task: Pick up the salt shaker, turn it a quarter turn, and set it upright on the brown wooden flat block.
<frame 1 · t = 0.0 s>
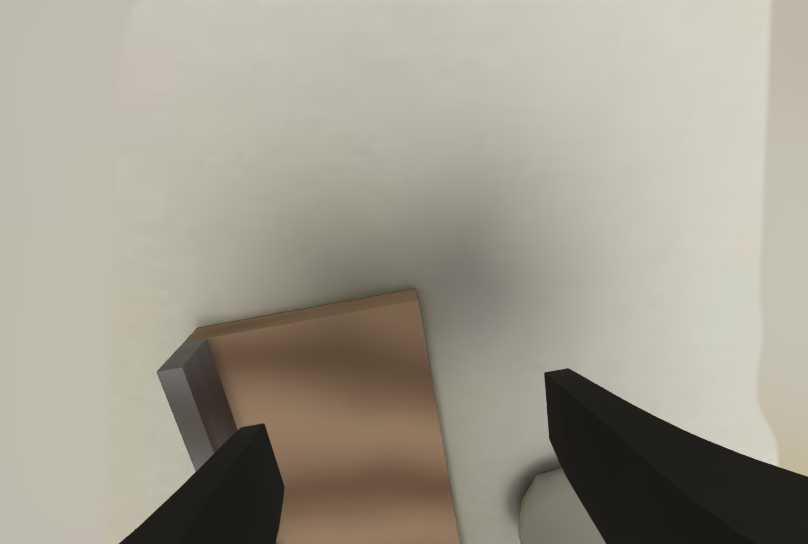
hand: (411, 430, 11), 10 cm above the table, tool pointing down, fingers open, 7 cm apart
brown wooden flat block: (349, 475, 24), on the table
salt shaker: (555, 493, 25), on the table
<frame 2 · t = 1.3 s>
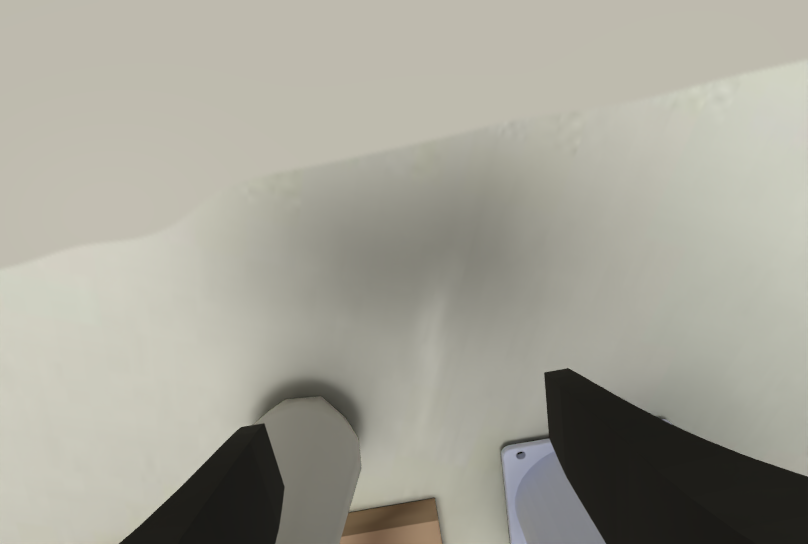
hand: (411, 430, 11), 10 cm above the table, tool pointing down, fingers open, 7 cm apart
salt shaker: (307, 426, 23), on the table
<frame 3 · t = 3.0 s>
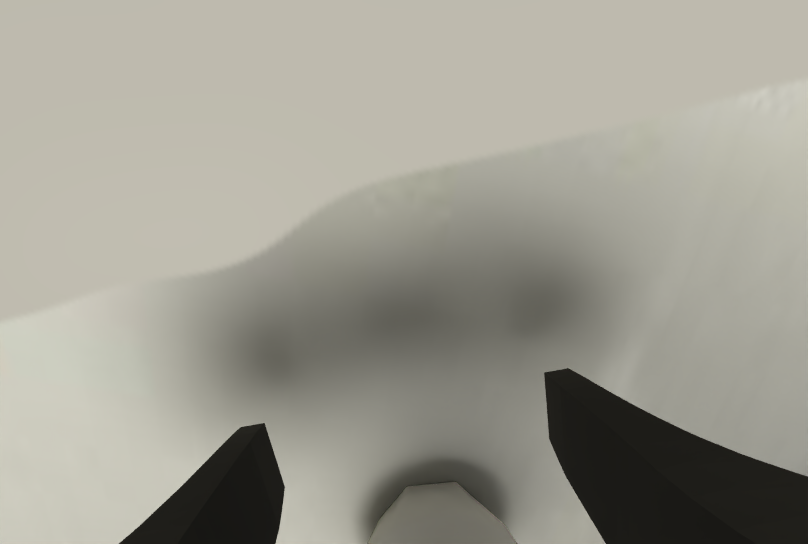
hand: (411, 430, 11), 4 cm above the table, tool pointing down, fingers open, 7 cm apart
salt shaker: (432, 519, 17), on the table
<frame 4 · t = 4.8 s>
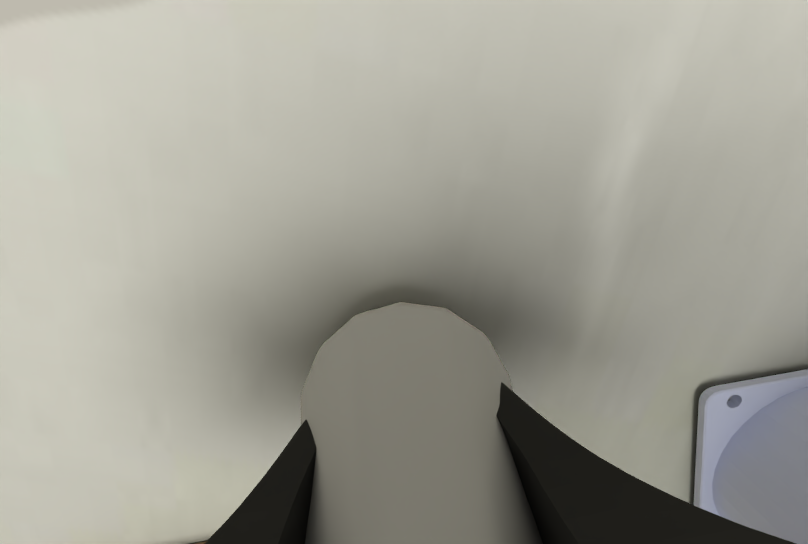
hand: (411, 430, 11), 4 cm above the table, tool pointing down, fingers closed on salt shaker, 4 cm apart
salt shaker: (402, 357, 15), on the table, touching gripper
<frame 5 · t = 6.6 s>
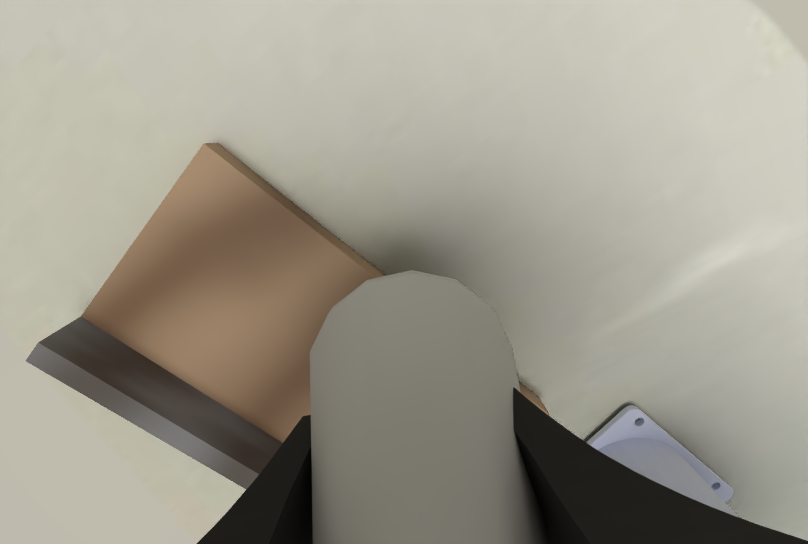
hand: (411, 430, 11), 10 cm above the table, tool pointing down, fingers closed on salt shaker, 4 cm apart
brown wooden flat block: (328, 360, 22), on the table
salt shaker: (407, 326, 15), point 6 cm above the table, touching gripper
when the fingers open (6 cm above the table, at t = 8.2 s): salt shaker stays where it is, resting on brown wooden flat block.
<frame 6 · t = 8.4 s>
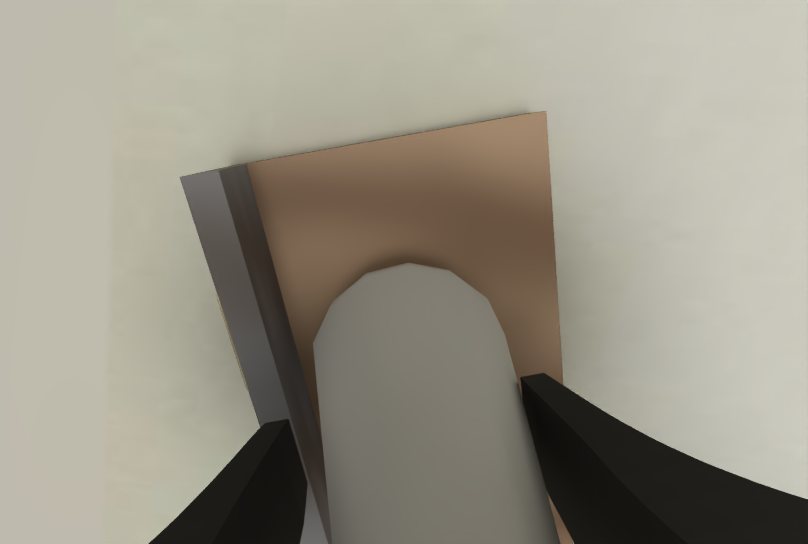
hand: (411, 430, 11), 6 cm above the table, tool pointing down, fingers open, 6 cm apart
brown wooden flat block: (424, 387, 18), on the table
salt shaker: (404, 322, 16), point 1 cm above the table, touching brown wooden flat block
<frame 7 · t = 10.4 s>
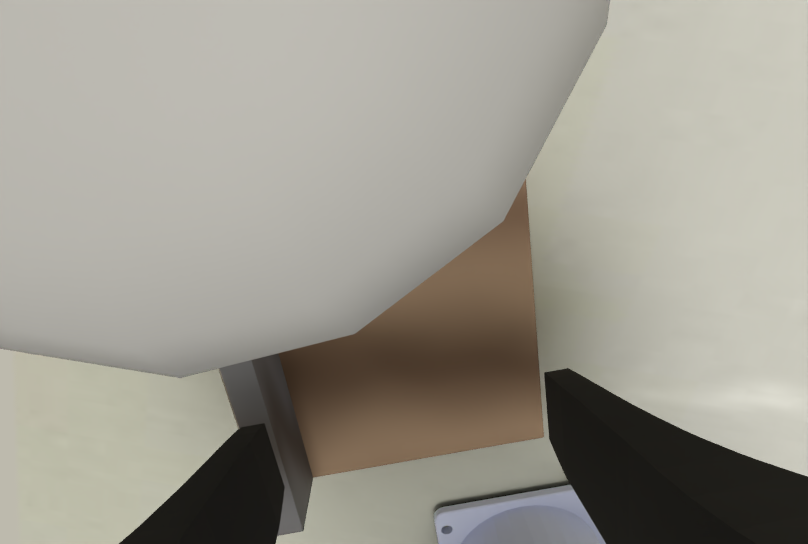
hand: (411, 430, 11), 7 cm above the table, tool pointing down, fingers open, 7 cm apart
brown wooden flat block: (372, 211, 16), on the table
salt shaker: (342, 104, 14), point 1 cm above the table, touching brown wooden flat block
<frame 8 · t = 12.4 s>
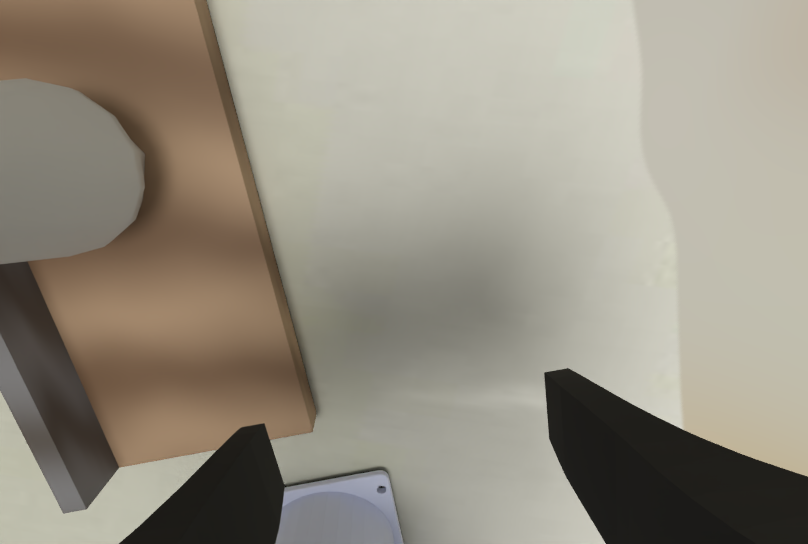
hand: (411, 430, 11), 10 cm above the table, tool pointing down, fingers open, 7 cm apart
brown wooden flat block: (151, 247, 20), on the table
salt shaker: (96, 167, 17), point 1 cm above the table, touching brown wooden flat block
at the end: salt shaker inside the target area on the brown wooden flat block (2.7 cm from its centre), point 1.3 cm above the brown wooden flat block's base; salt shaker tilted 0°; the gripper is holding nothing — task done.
